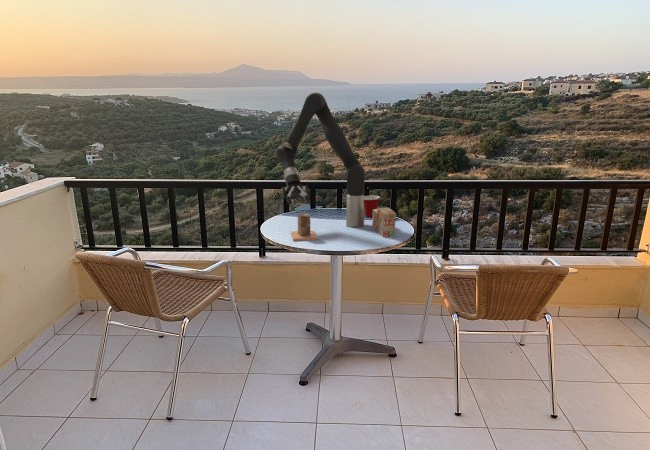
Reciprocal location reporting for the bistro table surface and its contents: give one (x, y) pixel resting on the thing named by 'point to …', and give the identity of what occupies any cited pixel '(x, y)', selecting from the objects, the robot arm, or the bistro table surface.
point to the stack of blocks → (384, 221)
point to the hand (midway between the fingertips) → (298, 203)
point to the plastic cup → (370, 204)
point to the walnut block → (304, 224)
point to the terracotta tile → (297, 237)
